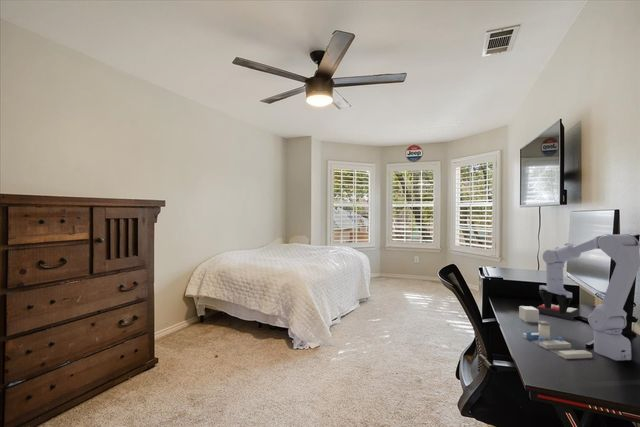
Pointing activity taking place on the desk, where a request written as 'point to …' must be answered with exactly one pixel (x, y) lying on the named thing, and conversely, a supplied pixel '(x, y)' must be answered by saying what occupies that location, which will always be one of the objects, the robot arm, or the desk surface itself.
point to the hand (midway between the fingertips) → (555, 310)
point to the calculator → (555, 311)
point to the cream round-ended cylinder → (544, 330)
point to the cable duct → (557, 346)
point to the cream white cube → (528, 314)
